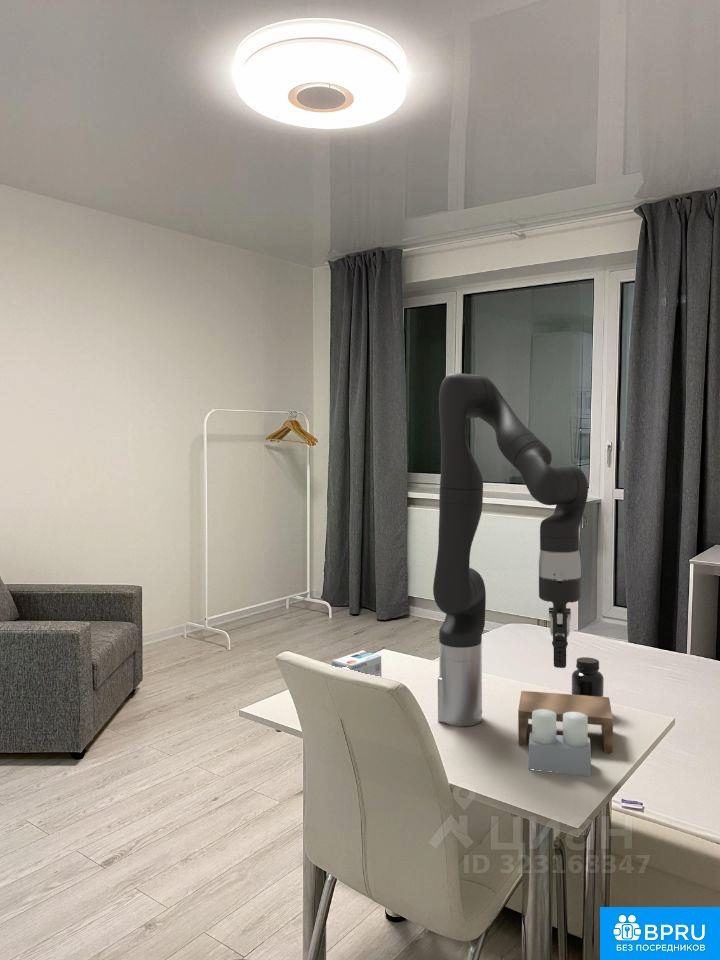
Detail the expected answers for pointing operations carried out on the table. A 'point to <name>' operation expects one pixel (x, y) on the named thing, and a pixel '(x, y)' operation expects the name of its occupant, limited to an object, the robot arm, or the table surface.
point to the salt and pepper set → (560, 743)
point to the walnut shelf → (562, 703)
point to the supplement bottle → (587, 678)
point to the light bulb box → (361, 662)
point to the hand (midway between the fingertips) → (559, 660)
